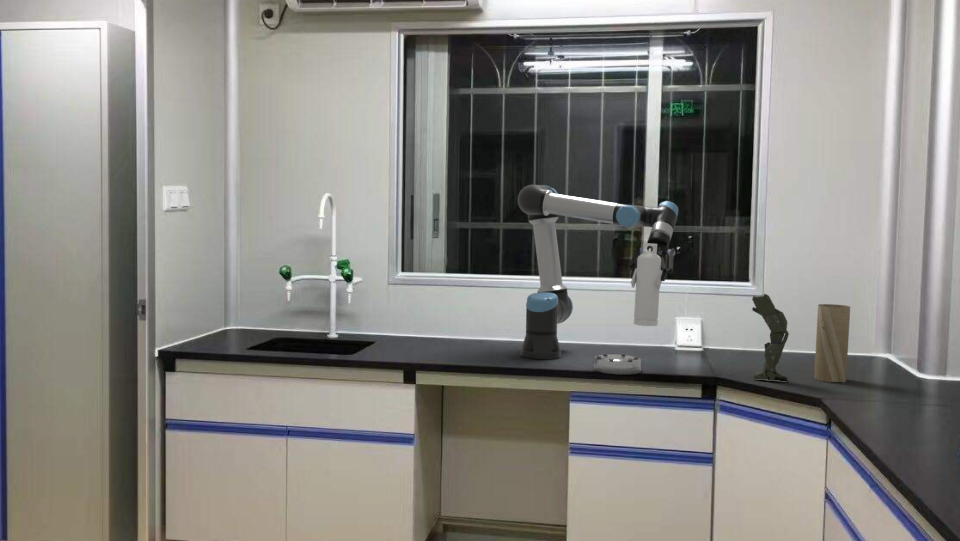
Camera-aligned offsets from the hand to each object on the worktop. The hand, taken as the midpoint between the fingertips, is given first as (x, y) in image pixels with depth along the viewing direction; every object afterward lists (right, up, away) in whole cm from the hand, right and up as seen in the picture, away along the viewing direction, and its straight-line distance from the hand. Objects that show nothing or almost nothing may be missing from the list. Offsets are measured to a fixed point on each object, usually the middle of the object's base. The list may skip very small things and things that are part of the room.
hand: (645, 286), depth 286 cm
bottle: (+1, -14, +4) cm, 14 cm away
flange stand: (-9, -29, +4) cm, 31 cm away
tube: (+62, -32, -4) cm, 69 cm away
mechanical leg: (+40, -31, -7) cm, 51 cm away
